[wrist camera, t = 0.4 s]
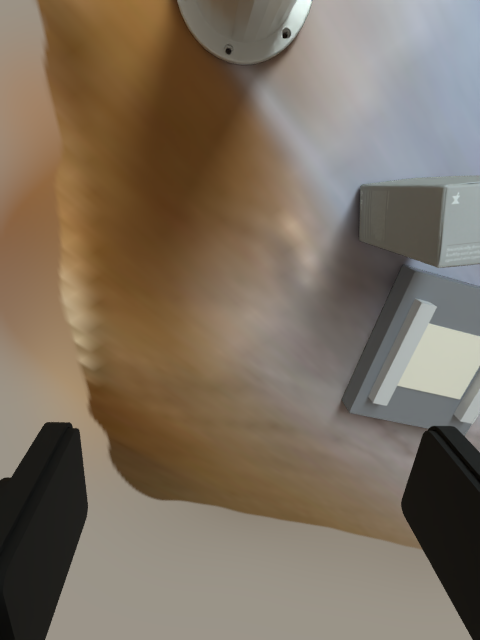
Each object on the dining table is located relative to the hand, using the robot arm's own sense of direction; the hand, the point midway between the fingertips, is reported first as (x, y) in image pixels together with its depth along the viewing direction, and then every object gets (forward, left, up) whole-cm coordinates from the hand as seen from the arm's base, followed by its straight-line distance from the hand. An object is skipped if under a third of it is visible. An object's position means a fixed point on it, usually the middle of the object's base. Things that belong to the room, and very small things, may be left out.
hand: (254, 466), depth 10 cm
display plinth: (+8, +31, -35) cm, 48 cm away
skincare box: (-8, +18, -36) cm, 41 cm away
